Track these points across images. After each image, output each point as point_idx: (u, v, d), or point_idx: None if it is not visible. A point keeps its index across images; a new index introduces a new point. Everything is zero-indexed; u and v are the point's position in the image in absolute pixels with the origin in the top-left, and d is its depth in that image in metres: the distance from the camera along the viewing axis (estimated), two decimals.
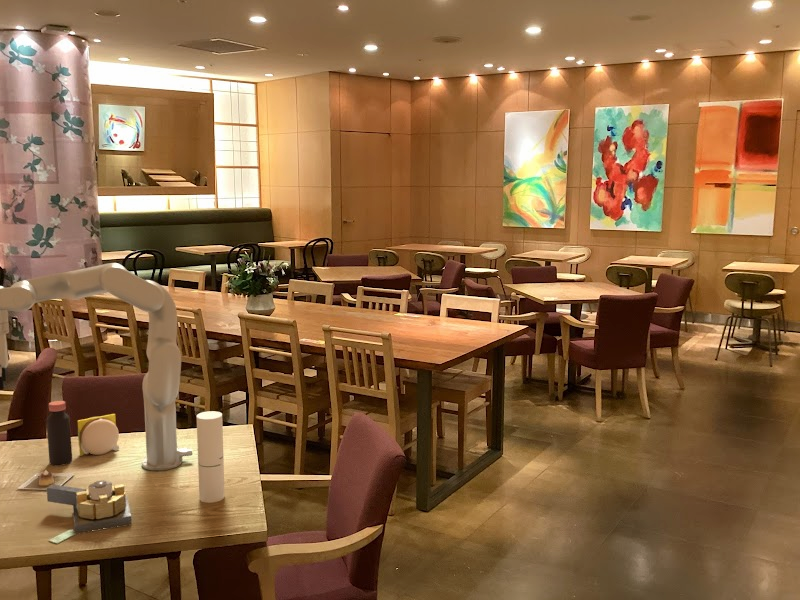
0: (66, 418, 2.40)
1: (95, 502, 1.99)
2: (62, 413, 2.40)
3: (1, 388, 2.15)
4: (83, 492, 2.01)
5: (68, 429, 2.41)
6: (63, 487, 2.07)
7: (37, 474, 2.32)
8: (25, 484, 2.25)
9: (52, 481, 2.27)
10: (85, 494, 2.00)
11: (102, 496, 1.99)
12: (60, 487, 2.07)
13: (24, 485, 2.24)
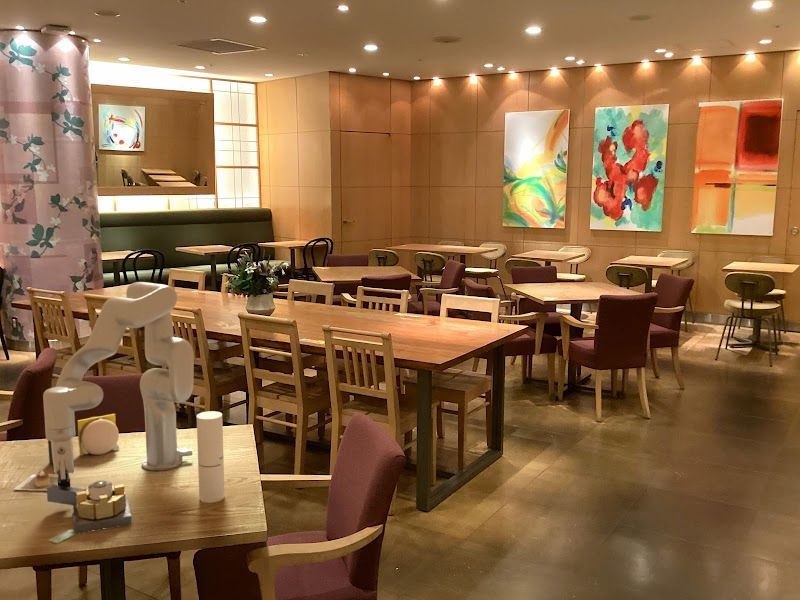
0: None
1: (95, 502, 1.99)
2: None
3: None
4: (83, 492, 2.01)
5: None
6: (63, 487, 2.07)
7: (33, 475, 2.31)
8: (21, 485, 2.24)
9: (48, 482, 2.26)
10: (85, 494, 2.00)
11: (102, 496, 1.99)
12: (60, 487, 2.07)
13: (20, 486, 2.24)
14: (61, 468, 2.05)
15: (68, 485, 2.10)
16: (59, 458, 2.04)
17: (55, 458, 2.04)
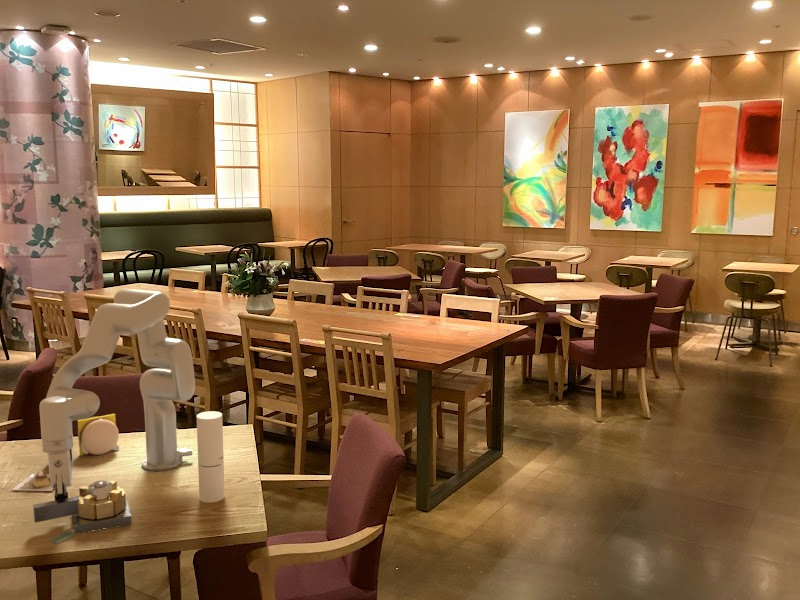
0: None
1: (110, 499, 2.00)
2: None
3: None
4: (90, 495, 1.99)
5: None
6: (51, 502, 1.97)
7: (32, 476, 2.31)
8: (20, 485, 2.24)
9: (47, 482, 2.26)
10: (94, 496, 1.99)
11: (116, 491, 2.02)
12: (47, 503, 1.97)
13: (19, 486, 2.24)
14: (58, 481, 1.96)
15: None
16: (56, 471, 1.95)
17: (51, 471, 1.95)
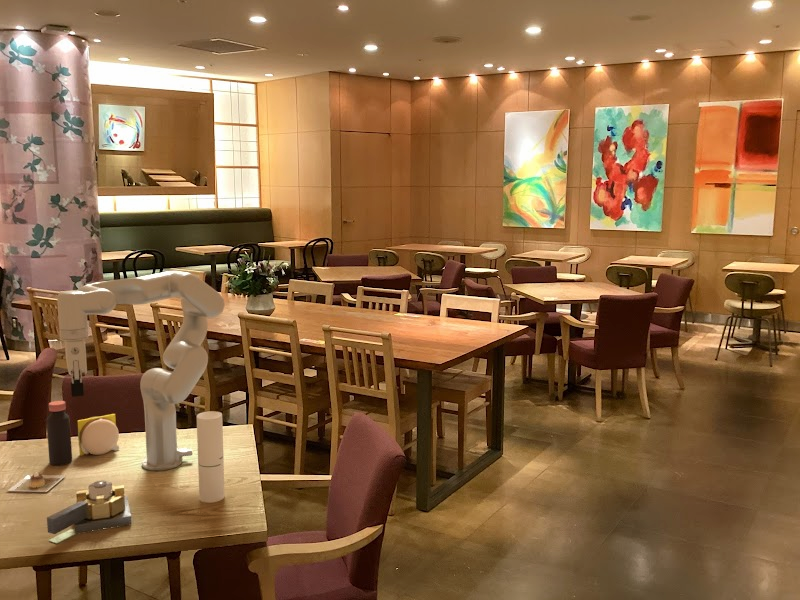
0: (66, 418, 2.40)
1: (117, 495, 2.03)
2: (62, 413, 2.40)
3: (81, 394, 2.17)
4: (100, 495, 1.99)
5: (68, 429, 2.41)
6: (62, 511, 1.92)
7: (28, 476, 2.31)
8: (15, 486, 2.23)
9: (43, 483, 2.25)
10: (103, 495, 2.00)
11: (120, 487, 2.05)
12: (60, 512, 1.91)
13: (14, 487, 2.23)
14: (75, 368, 2.12)
15: (81, 387, 2.17)
16: (73, 358, 2.11)
17: (69, 358, 2.11)
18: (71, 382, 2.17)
